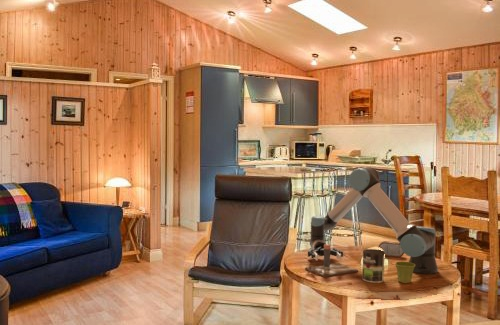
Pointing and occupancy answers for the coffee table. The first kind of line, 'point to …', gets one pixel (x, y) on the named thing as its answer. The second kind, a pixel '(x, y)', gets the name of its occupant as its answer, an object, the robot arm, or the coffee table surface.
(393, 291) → the coffee table surface
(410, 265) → the plant pot
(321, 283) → the coffee table surface
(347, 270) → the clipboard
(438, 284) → the coffee table surface
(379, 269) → the coffee can
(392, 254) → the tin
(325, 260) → the marker
